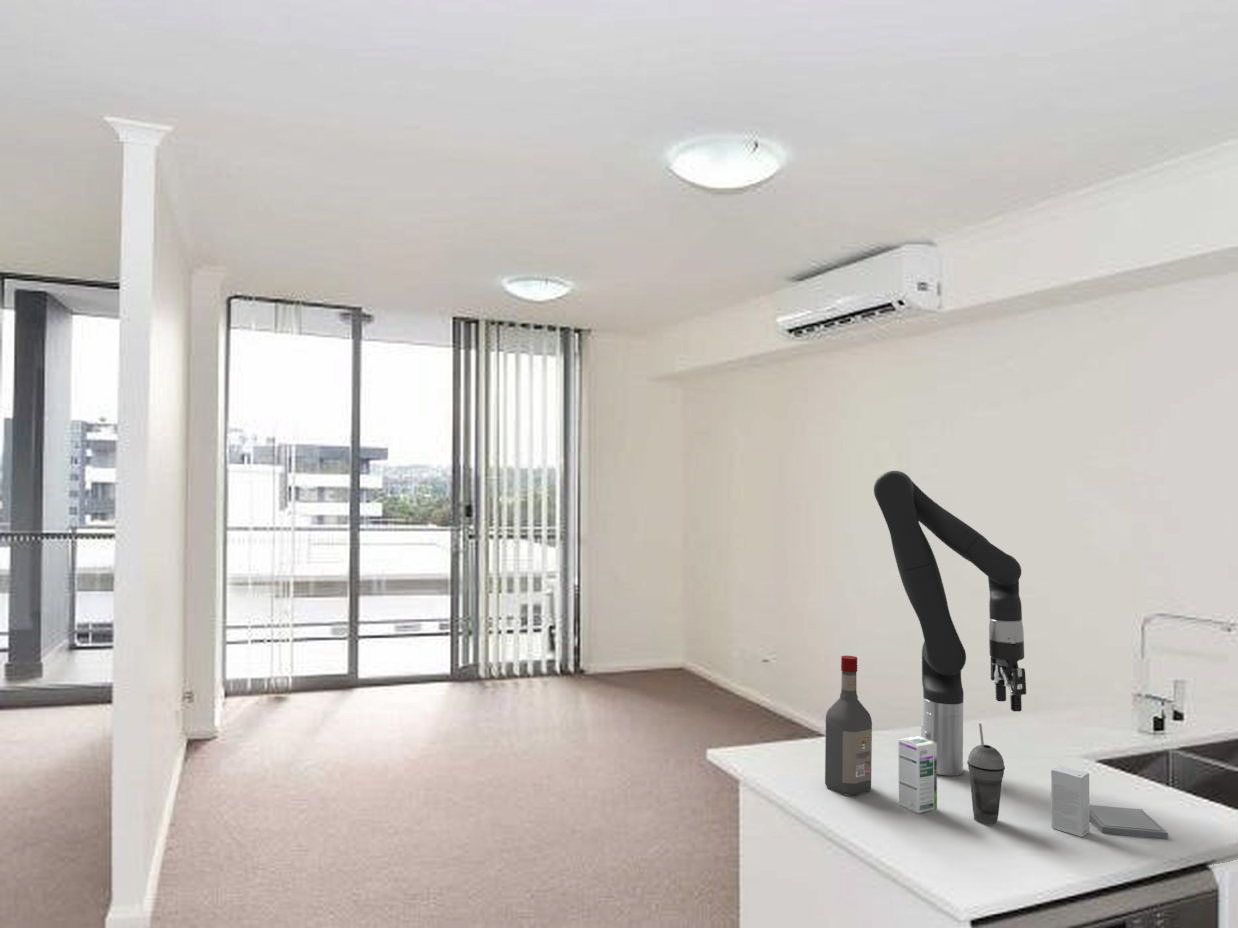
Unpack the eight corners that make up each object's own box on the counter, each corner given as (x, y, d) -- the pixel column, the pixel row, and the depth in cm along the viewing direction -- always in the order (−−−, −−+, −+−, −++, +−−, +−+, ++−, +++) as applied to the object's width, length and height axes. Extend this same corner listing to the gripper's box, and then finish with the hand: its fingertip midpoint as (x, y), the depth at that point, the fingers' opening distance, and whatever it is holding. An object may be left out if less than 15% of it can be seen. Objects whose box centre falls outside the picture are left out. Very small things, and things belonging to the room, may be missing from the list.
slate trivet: (1102, 832, 166) (1102, 826, 166) (1080, 809, 178) (1080, 803, 178) (1167, 838, 164) (1167, 832, 164) (1141, 814, 175) (1141, 808, 175)
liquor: (877, 790, 187) (878, 659, 187) (848, 798, 182) (850, 663, 182) (846, 777, 194) (848, 651, 195) (819, 784, 190) (820, 655, 190)
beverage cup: (1002, 830, 166) (1003, 731, 167) (963, 822, 170) (964, 725, 170) (1006, 818, 172) (1007, 723, 173) (969, 810, 176) (970, 717, 177)
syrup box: (918, 814, 174) (919, 745, 174) (897, 804, 179) (898, 737, 179) (937, 809, 176) (938, 742, 177) (916, 799, 182) (916, 734, 182)
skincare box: (1090, 832, 166) (1090, 772, 166) (1082, 837, 163) (1082, 777, 164) (1058, 822, 171) (1058, 764, 171) (1050, 827, 168) (1050, 769, 168)
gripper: (978, 632, 203) (980, 698, 202) (1002, 644, 189) (1005, 714, 188) (1009, 632, 202) (1011, 697, 202) (1036, 643, 188) (1038, 714, 188)
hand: (1008, 705), depth 195 cm, fingers open, 8 cm apart
